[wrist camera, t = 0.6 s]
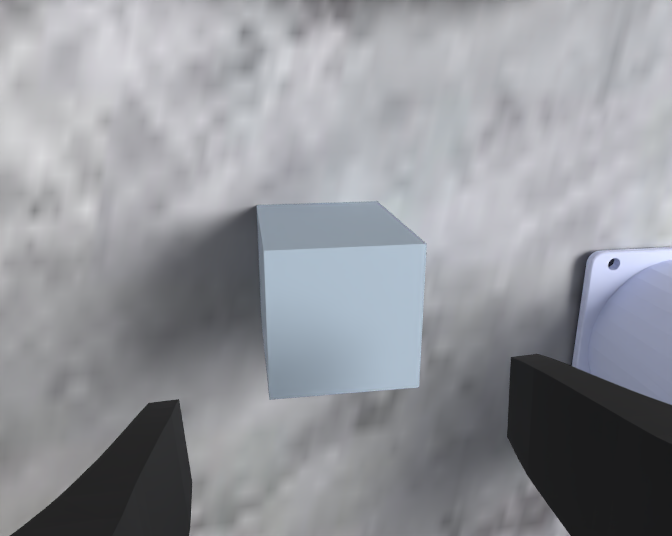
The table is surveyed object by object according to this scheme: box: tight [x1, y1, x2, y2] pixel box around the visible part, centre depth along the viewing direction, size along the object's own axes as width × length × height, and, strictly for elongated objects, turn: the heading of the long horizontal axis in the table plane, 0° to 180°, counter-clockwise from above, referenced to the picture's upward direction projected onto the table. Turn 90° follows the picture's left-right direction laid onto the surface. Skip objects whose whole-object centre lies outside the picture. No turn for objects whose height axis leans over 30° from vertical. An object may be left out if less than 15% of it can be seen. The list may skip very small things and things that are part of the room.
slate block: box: [257, 201, 427, 400], centre depth 19 cm, size 4×4×6 cm
